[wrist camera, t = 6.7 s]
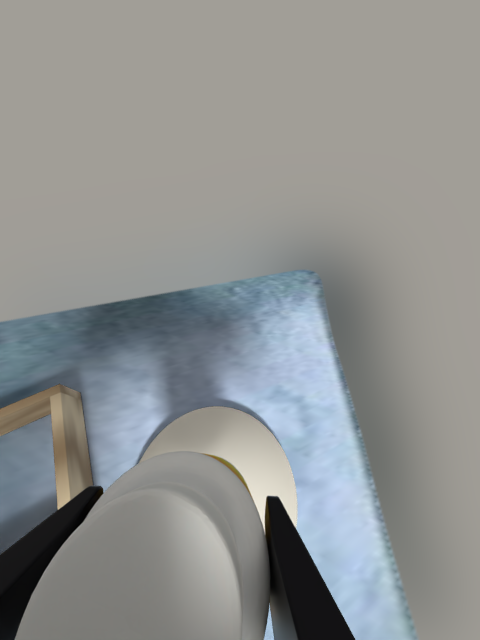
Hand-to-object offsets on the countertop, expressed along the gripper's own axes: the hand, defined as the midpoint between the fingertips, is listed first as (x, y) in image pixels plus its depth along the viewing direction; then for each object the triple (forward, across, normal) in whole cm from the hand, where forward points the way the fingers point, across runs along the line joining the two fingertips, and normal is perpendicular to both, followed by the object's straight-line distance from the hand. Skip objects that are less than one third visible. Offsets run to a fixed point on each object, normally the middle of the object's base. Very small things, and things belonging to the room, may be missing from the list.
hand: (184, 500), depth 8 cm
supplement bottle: (+4, 0, +6) cm, 7 cm away
